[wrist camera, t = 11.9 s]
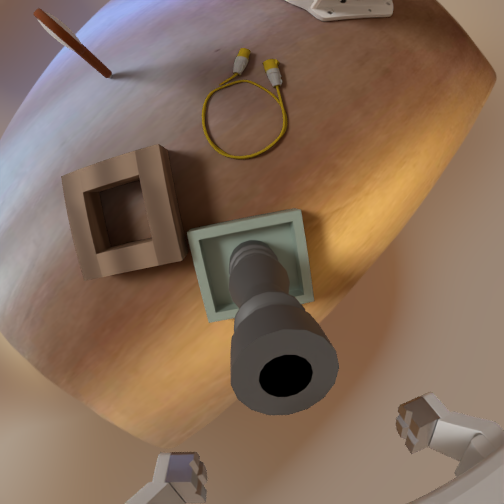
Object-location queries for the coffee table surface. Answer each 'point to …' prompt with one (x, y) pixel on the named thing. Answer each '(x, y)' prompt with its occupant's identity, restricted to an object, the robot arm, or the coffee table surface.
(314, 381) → the candle holder
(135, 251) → the socket block
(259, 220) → the parts tray
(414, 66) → the coffee table surface
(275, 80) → the extension cord
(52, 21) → the magnifying glass
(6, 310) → the coffee table surface
